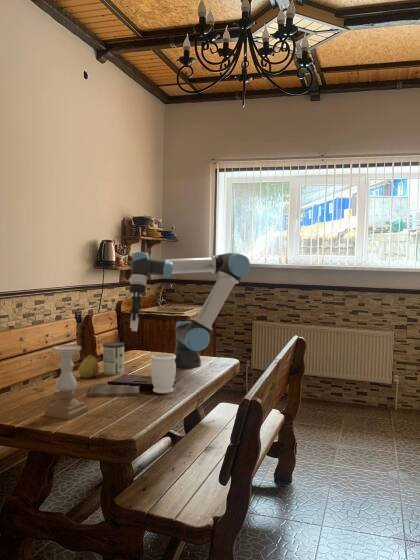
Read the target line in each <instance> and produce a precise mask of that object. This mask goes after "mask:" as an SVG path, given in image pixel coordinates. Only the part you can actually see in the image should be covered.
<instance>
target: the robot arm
mask: <svg viewBox="0 0 420 560" xmlns="http://www.w3.org/2000/svg"><path fill="white" fill-rule="evenodd" d="M249 259H250V258H248V256H247V255H245V253H242V252H241V253H240V252H226V253H222V254H217V255H211V256H209V257H189V258H168V259H167V258H166V259H165V258H164V259H162V258H161V259H157V258H156V259H155V258H151V257H150V256H149V253H148V252H146V251H145V252H143V251H136V252H134V253H133V255H132V261H131V272H130V276H129V278H128V279H129V280H130V282H129V283H130V285H129V293H130V294H133V295H132V297H131V299H132V302H131V303H132V305H131V310H130V311H129V314H130V315H131V316H130V324H129V328H130V329H131V332H138V329H139V328H138V327H139V319H140V318H141V316H140V314H139V313H140V306H141V301H142V297H141V295H144V294H146V289H147V286H146V285H147V281H148V279H147V278H148V275H153V276H154V275H155V276H159V277H160V276H161V277H171V276H172V275H174V274H189V273H190V274H192V273H193V274H195V273H211V274H213V275H214V274H218V275H219V277H218V278H217V281H216V282H215V283H214V286H213V287H212V289H211V291H210V292H209V295H208V296H207V298H206V299H205V302H204V303H203V305H202V307H201V309H200V310H199V312H198V314H197V316H196V317H195V318H192V319H191V321H189V320H188V321H177V322H176V323H175V328H174V329H175V350H174V353H173V355H175V356H176V359H175V364H176V368H179V369H180V368H181V369H189V368H191V369H192V368H193V369H194V368H198V367H200V366H202V360H201V356H200V353H199V352H201V351H203V350H204V349H206V348H207V347H208V346H209V344H210V341H211V337H210V336H211V334H212V332H213V327H212V325H213V324H214V322H215V321H216V318H217V317H218V315H219V313H220V311H221V309H222V307H223V306H224V304H225V302H226V300H227V298H228V297H229V295H230V294H231V291H232V289H233V288H234V286H235V285H236V284H239V283H240V281H241V280H242V278H243V277H245V276H246V275H247V274H248V273H249V271H250V269H251V263H250V260H249Z"/></svg>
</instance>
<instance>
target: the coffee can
mask: <svg viewBox="0 0 420 560" xmlns="http://www.w3.org/2000/svg"><path fill="white" fill-rule="evenodd" d="M102 352H103V353H102V356H103V357H102V359H103V360H102V362H103V365H102V366H103V367H102V368H103V369H102V371H103V372H102V373H103V374H104V375H113V376H114V375H121V374H124V373H125V342H122V341H109V342H104V343H102Z"/></svg>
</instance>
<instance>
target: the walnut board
mask: <svg viewBox="0 0 420 560" xmlns="http://www.w3.org/2000/svg"><path fill="white" fill-rule="evenodd" d="M133 396H134V397H135V396H136V397H137V396H138V397H139V396H140V385H139V386H130V385H126V386H125V385H109V384H108V383H91V387H90V389H89V393H88V398H101V397H105V398H106V397H133Z"/></svg>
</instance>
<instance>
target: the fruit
mask: <svg viewBox="0 0 420 560" xmlns="http://www.w3.org/2000/svg"><path fill="white" fill-rule="evenodd" d="M95 353H96V351H93V353H92V354H88V355H87V356H86V357H85V358H84V359H83V360H82V362H80V365H79V366H78V375H80V377H81V378H83V379H91V378H95V377H96V376H97V375H98V374H99V370H100V369H99V363H98V361H97V359H96V357H95V356H94V354H95Z"/></svg>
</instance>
